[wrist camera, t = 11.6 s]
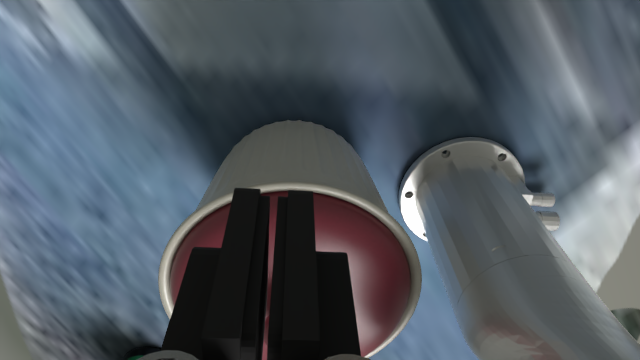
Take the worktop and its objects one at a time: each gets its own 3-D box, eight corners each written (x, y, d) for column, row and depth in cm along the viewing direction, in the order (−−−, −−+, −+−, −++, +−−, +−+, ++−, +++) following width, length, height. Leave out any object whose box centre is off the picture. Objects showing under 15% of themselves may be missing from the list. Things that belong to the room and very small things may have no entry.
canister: (162, 165, 46) (72, 341, 28) (305, 45, 40) (309, 167, 22) (286, 271, 53) (278, 464, 35) (420, 182, 48) (492, 356, 30)
